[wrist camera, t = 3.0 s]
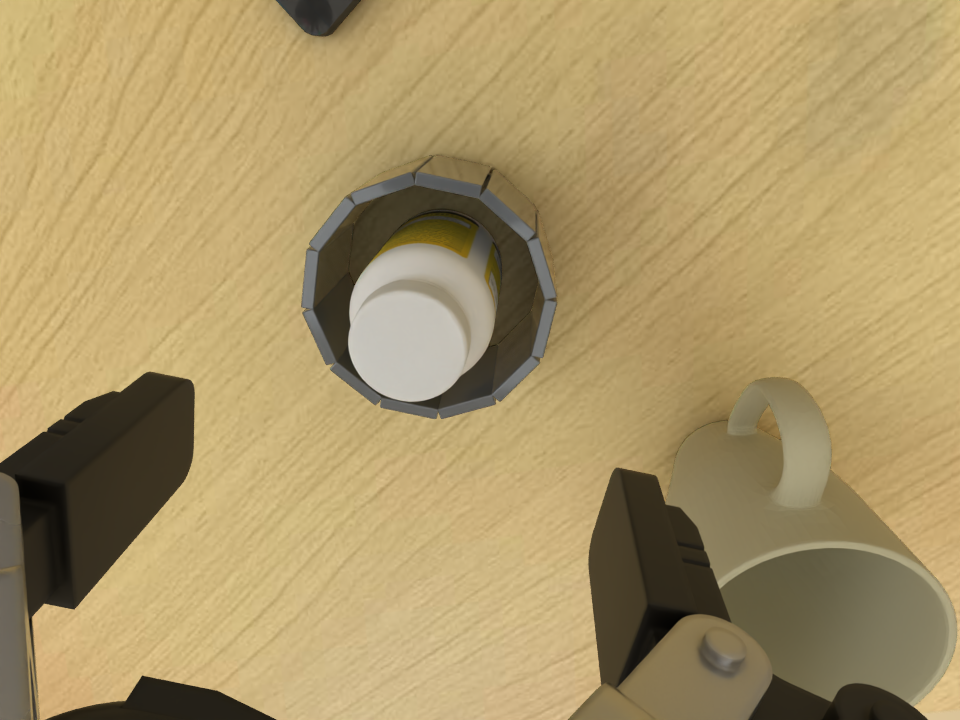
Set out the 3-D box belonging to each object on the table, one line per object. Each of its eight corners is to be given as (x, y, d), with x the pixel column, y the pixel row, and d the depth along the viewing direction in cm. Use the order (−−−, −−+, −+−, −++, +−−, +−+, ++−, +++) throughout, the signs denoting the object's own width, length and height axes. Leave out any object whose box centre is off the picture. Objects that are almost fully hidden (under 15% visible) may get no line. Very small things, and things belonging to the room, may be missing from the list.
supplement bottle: (362, 257, 31) (292, 332, 22) (451, 182, 29) (414, 230, 20) (438, 344, 32) (401, 447, 24) (527, 276, 31) (524, 361, 22)
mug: (871, 454, 33) (1040, 644, 22) (709, 564, 36) (785, 777, 25) (730, 303, 31) (840, 431, 20) (569, 435, 34) (587, 609, 23)
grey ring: (329, 341, 33) (292, 390, 28) (353, 136, 29) (315, 149, 24) (524, 382, 33) (522, 437, 28) (573, 183, 29) (582, 206, 24)
